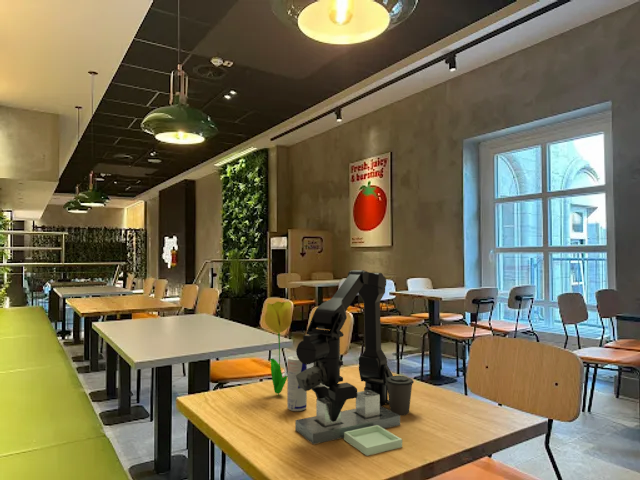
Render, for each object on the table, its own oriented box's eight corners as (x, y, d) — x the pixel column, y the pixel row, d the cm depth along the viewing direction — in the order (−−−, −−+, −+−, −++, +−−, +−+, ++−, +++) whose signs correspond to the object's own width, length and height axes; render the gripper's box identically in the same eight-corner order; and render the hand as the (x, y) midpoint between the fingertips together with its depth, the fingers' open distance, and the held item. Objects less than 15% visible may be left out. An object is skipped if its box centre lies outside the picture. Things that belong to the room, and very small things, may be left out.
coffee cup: (396, 419, 125) (396, 382, 125) (379, 409, 132) (379, 375, 132) (419, 414, 128) (419, 378, 129) (402, 405, 136) (402, 372, 136)
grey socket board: (378, 413, 129) (378, 404, 129) (400, 425, 120) (400, 415, 120) (295, 429, 117) (295, 420, 117) (313, 444, 108) (313, 433, 108)
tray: (377, 432, 116) (377, 424, 116) (402, 447, 107) (402, 439, 107) (343, 439, 111) (343, 432, 111) (366, 455, 102) (366, 447, 102)
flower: (296, 394, 146) (297, 300, 147) (281, 401, 139) (282, 303, 140) (275, 389, 151) (276, 299, 151) (259, 396, 144) (260, 301, 145)
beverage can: (304, 412, 129) (304, 360, 130) (285, 411, 130) (285, 359, 131) (308, 406, 135) (308, 355, 135) (290, 404, 136) (290, 354, 136)
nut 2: (369, 419, 125) (369, 388, 125) (379, 425, 120) (379, 393, 121) (355, 422, 122) (355, 391, 123) (365, 428, 118) (365, 396, 119)
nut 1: (331, 427, 119) (331, 395, 119) (340, 433, 115) (340, 400, 115) (316, 430, 117) (316, 397, 117) (324, 436, 113) (324, 403, 113)
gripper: (285, 352, 121) (284, 411, 120) (317, 368, 104) (317, 437, 104) (322, 348, 126) (321, 404, 126) (358, 363, 110) (358, 428, 109)
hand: (328, 417), depth 116 cm, fingers open, 5 cm apart
